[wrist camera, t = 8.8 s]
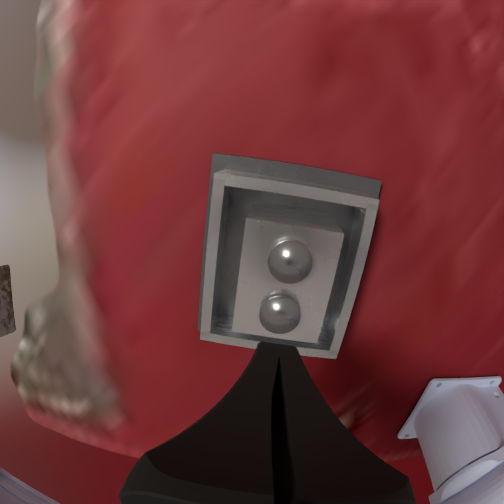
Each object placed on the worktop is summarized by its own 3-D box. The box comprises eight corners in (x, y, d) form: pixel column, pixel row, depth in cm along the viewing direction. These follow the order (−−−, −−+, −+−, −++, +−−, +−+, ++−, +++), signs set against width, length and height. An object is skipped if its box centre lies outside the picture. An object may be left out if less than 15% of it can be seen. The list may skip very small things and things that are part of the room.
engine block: (330, 213, 18) (346, 236, 13) (311, 303, 20) (317, 348, 15) (254, 201, 18) (244, 220, 14) (242, 293, 20) (230, 336, 16)
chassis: (378, 179, 18) (393, 185, 15) (336, 346, 22) (341, 370, 19) (215, 153, 18) (204, 154, 16) (199, 325, 22) (189, 348, 20)
